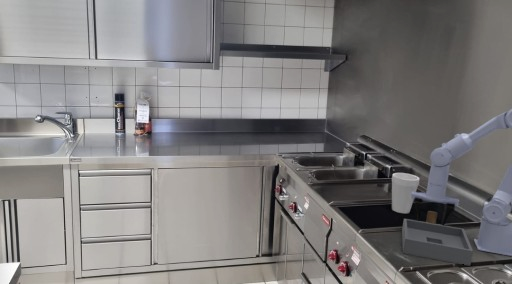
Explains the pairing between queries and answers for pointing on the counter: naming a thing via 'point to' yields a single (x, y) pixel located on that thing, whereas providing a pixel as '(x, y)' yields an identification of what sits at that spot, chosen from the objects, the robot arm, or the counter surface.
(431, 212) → the peg
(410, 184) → the foam cup
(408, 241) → the box
